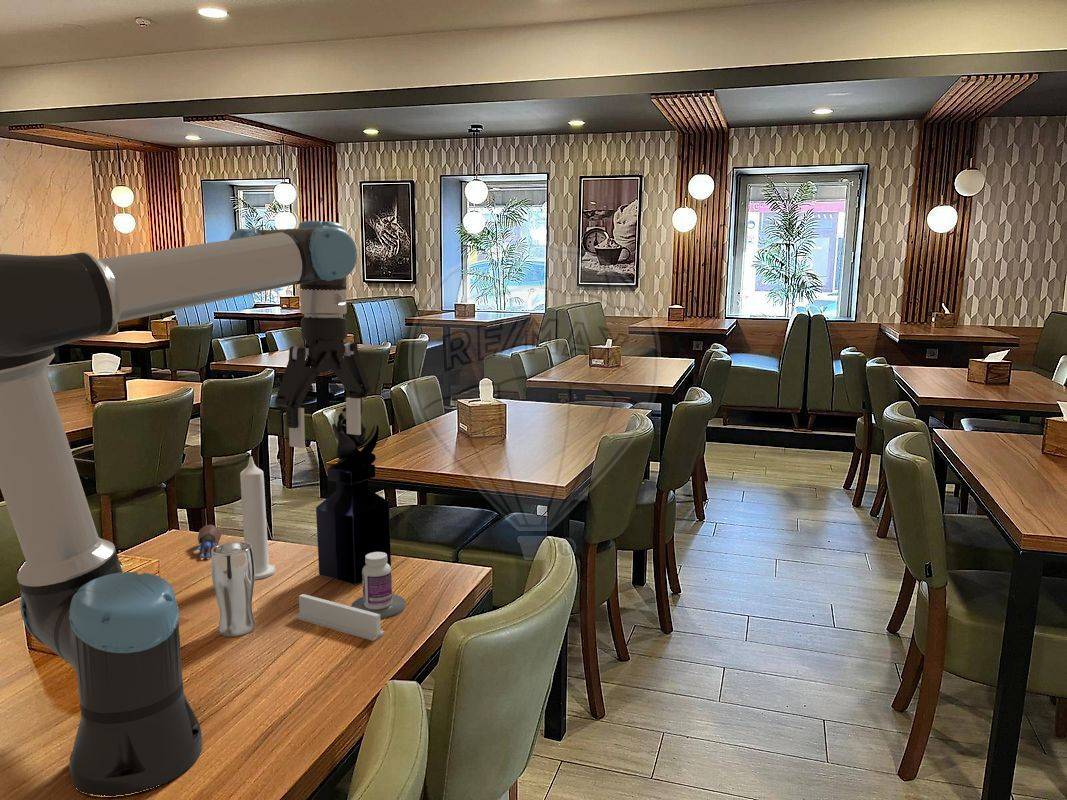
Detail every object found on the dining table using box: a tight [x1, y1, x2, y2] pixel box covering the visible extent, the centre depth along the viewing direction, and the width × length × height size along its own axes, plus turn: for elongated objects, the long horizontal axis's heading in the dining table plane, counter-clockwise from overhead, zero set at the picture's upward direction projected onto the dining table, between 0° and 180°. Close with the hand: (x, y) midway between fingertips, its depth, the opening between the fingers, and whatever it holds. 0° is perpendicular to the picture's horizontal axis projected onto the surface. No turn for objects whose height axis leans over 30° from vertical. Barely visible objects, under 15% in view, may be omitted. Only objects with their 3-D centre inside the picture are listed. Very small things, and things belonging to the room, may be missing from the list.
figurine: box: [193, 524, 222, 559], centre depth 175 cm, size 6×5×12 cm
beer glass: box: [210, 540, 256, 638], centre depth 135 cm, size 7×7×15 cm
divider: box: [295, 593, 386, 642], centre depth 137 cm, size 3×18×4 cm, turn 62°
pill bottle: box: [362, 552, 393, 610], centre depth 145 cm, size 5×5×10 cm
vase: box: [315, 407, 392, 586], centre depth 162 cm, size 14×12×35 cm
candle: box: [239, 456, 277, 580], centre depth 160 cm, size 7×7×25 cm
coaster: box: [350, 593, 407, 620], centre depth 146 cm, size 10×10×1 cm
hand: (326, 440), depth 133 cm, fingers open, 13 cm apart
